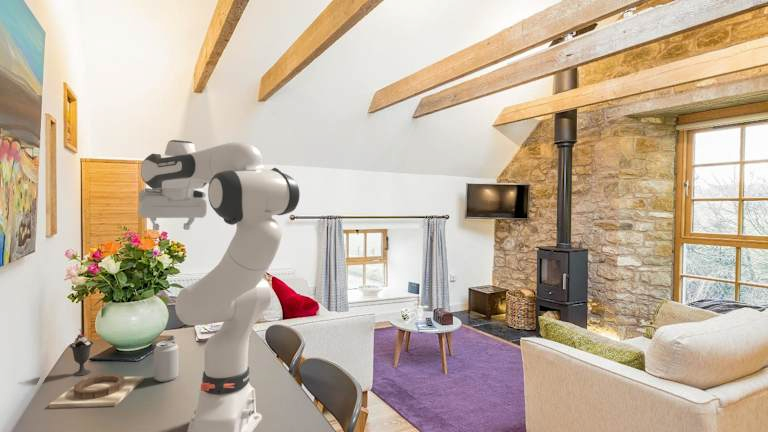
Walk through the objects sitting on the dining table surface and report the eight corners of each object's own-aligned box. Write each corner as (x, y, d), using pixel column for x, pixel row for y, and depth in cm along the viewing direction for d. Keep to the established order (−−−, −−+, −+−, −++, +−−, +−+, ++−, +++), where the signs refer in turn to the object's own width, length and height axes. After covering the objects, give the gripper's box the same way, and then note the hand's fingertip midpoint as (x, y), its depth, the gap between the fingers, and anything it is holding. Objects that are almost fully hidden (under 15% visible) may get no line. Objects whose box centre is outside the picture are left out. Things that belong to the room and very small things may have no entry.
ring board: (115, 405, 127) (115, 395, 127) (49, 408, 125) (49, 397, 125) (143, 379, 145) (143, 370, 144) (85, 381, 143) (85, 371, 143)
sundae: (82, 368, 153) (81, 326, 152) (98, 370, 152) (97, 327, 151) (64, 376, 147) (64, 332, 146) (81, 378, 145) (80, 333, 145)
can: (148, 380, 144) (148, 344, 144) (167, 372, 151) (167, 338, 151) (165, 384, 142) (165, 348, 141) (183, 375, 148) (183, 341, 148)
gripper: (142, 191, 131) (138, 234, 134) (211, 193, 144) (205, 232, 148) (137, 185, 135) (133, 226, 139) (204, 187, 149) (199, 225, 152)
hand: (171, 229), depth 143 cm, fingers open, 8 cm apart
